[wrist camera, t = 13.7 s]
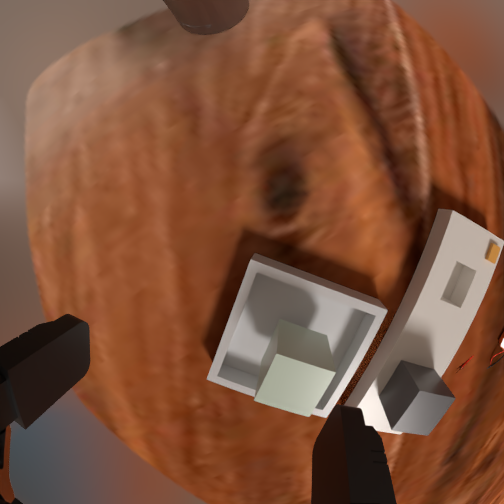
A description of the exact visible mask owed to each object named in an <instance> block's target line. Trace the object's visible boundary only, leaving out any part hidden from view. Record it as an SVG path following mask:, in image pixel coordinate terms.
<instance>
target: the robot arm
mask: <svg viewBox="0 0 504 504" xmlns="http://www.w3.org/2000/svg"><path fill="white" fill-rule="evenodd" d="M163 1H164V2H165V3H166V5H167V6H168V8H169V9H170V11H171V12H172V13H173V15H174V16H175V17H176V19H177V20H178V22H179V23H180V25H181V26H182V27H183V28H184V29H185V30H187V31H189V32H191V33H195V34H204V35H207V34H215V33H219V32H222V31H225V30H227V29H229V28H231V27H233V26H234V25H236V24H237V23H238V22H239V21H241V20H242V18H243V17H244V16H245V15H246V13H247V10H248V7H249V1H248V0H163ZM89 365H90V339H89V325H88V323H87V322H85V321H83V320H81V319H78V318H76V317H74V316H72V315H70V314H66V315H64V316H62V317H60V318H58V319H57V320H55V321H51V322H47V323H42V324H39V325H37V326H35V327H33V328H32V329H30V330H28V332H25V333H23V334H21V335H20V336H19V338H18V337H16V338H14V339H13V340H11V341H9V342H7V343H6V344H4V345H2V346H1V347H0V504H23V503H21V502H20V501H19V500H18V499H16V498H15V496H14V491H13V488H12V486H11V483H10V478H9V454H10V437H11V428H10V424H11V423H12V422H13V421H16V422H17V423H18V424H19V425H21V426H22V427H23V428H24V429H27V428H28V427H29V426H30V425H31V424H32V423H33V422H34V421H35V420H36V419H37V418H39V417H40V416H41V415H42V414H43V413H44V412H45V411H46V410H47V409H48V408H50V406H52V405H53V404H54V403H55V402H56V401H57V400H58V399H59V398H61V397H62V396H63V395H64V394H65V393H66V392H67V391H68V390H69V389H70V388H72V387H73V386H74V385H75V384H76V383H77V382H78V381H79V380H81V379H82V378H83V377H84V376H85V374H86V373H87V371H88V369H89ZM384 452H385V450H384V446H383V442H382V438H381V437H380V435H379V434H378V433H377V431H376V430H375V429H374V427H373V426H368V425H365V420H364V416H363V412H362V409H361V408H357V407H350V406H345V405H339V404H337V405H336V406H335V407H334V408H333V410H332V412H331V413H330V415H329V417H328V419H327V421H326V423H325V425H324V426H323V428H322V430H321V432H320V433H319V435H318V437H317V439H316V442H315V444H314V448H313V454H312V497H311V504H396V499H395V494H394V490H393V485H392V480H391V476H390V471H389V467H388V465H387V458H386V454H384Z"/></svg>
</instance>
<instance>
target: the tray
mask: <svg viewBox="0 0 504 504" xmlns="http://www.w3.org/2000/svg"><path fill="white" fill-rule="evenodd" d="M387 311H388V310H387V309H386V307H385V306H384V305H383V304H382V303H381V301H380V300H379V299H377V298H374V297H371V296H369V295H366V294H363V293H361V292H358V291H355V290H353V289H350V288H347V287H345V286H342V285H339V284H337V283H334V282H331V281H329V280H326V279H323V278H321V277H318V276H315V275H313V274H310V273H307V272H305V271H302V270H299V269H297V268H294V267H291V266H289V265H286V264H283V263H281V262H278V261H275V260H273V259H270V258H268V257H265V256H262V255H260V254H257V253H254V255H253V256H252V258H251V260H250V262H249V265H248V268H247V271H246V273H245V276H244V279H243V282H242V284H241V287H240V290H239V292H238V295H237V298H236V301H235V303H234V306H233V309H232V312H231V314H230V317H229V320H228V323H227V325H226V328H225V331H224V334H223V336H222V339H221V342H220V344H219V347H218V350H217V353H216V355H215V358H214V361H213V364H212V366H211V369H210V372H209V374H208V377H207V380H210V381H212V382H215V383H218V384H220V385H223V386H226V387H228V388H231V389H234V390H236V391H239V392H242V393H245V394H248V395H251V396H254V397H255V392H256V387H257V382H258V376H259V371H260V366H261V360H262V358H263V356H264V353H265V351H266V349H267V347H268V344H269V342H270V340H271V338H272V335H273V333H274V331H275V328H276V326H277V324H278V321H279V319H282V320H285V321H287V322H290V323H293V324H296V325H299V326H302V327H304V328H307V329H310V330H313V331H316V332H319V333H322V334H325V335H327V337H328V341H329V345H330V349H331V353H332V357H333V362H334V366H335V370H336V374H335V375H334V377H333V379H332V381H331V382H330V384H329V386H328V387H327V389H326V391H325V392H324V394H323V396H322V397H321V399H320V401H319V402H318V404H317V406H316V407H315V409H314V410H313V412H312V413H311V414H314V415H317V416H321V417H325V418H327V416H328V415H329V413H330V412H331V410H332V409H333V407H334V406H335V404H336V402H337V401H338V399H339V398H340V396H341V395H342V393H343V391H344V390H345V388H346V386H347V385H348V383H349V381H350V380H351V378H352V376H353V375H354V373H355V371H356V370H357V368H358V366H359V364H360V363H361V361H362V359H363V357H364V356H365V354H366V352H367V350H368V348H369V346H370V345H371V343H372V341H373V339H374V337H375V335H376V333H377V331H378V329H379V327H380V325H381V323H382V321H383V319H384V317H385V315H386V313H387Z"/></svg>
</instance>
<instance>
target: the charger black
mask: <svg viewBox="0 0 504 504" xmlns="http://www.w3.org/2000/svg"><path fill="white" fill-rule="evenodd" d="M379 399H380V401H381V404H382V406H383V409H384V412H385V414H386V417H387V420H388V422H389V425H390V428H391V430H393V431H399V432H406V433H413V434H421V435H429V433H430V432H431V431H432V430H433V428H434V427H435V426H436V425H437V423H438V422H439V421H440V419H441V418H442V417H443V415H444V414H445V413H446V411H447V410H448V408H449V407H450V406H451V404H452V403H453V401H454V400H455V397H454V395H453V394H452V392H451V391H450V390H449V388H448V387H447V386H446V384H445V383H444V381H443V380H442V379H441V377H440V376H439V375H438V373H437V372H436V371H435V369H431V368H428V367H424V366H421V365H417V364H414V363H410V362H407V361H403V360H401V361H400V363H399V364H398V366H397V368H396V369H395V371H394V373H393V374H392V376H391V378H390V379H389V381H388V382H387V384H386V386H385V387H384V389H383V390H382V392H381V393H380V395H379Z"/></svg>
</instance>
